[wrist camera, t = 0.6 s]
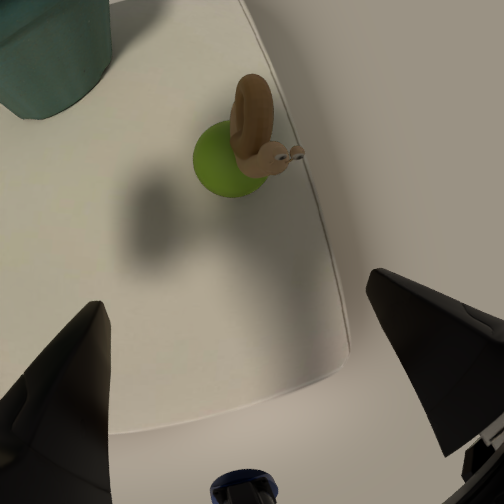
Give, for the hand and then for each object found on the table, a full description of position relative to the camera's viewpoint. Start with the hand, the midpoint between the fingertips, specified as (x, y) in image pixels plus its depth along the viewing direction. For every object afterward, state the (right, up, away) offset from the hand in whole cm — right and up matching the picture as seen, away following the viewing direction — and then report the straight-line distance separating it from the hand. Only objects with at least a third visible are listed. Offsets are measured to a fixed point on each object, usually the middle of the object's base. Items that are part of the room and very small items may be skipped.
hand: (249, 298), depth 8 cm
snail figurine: (-2, +7, +13) cm, 15 cm away
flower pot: (-19, +19, +9) cm, 29 cm away
